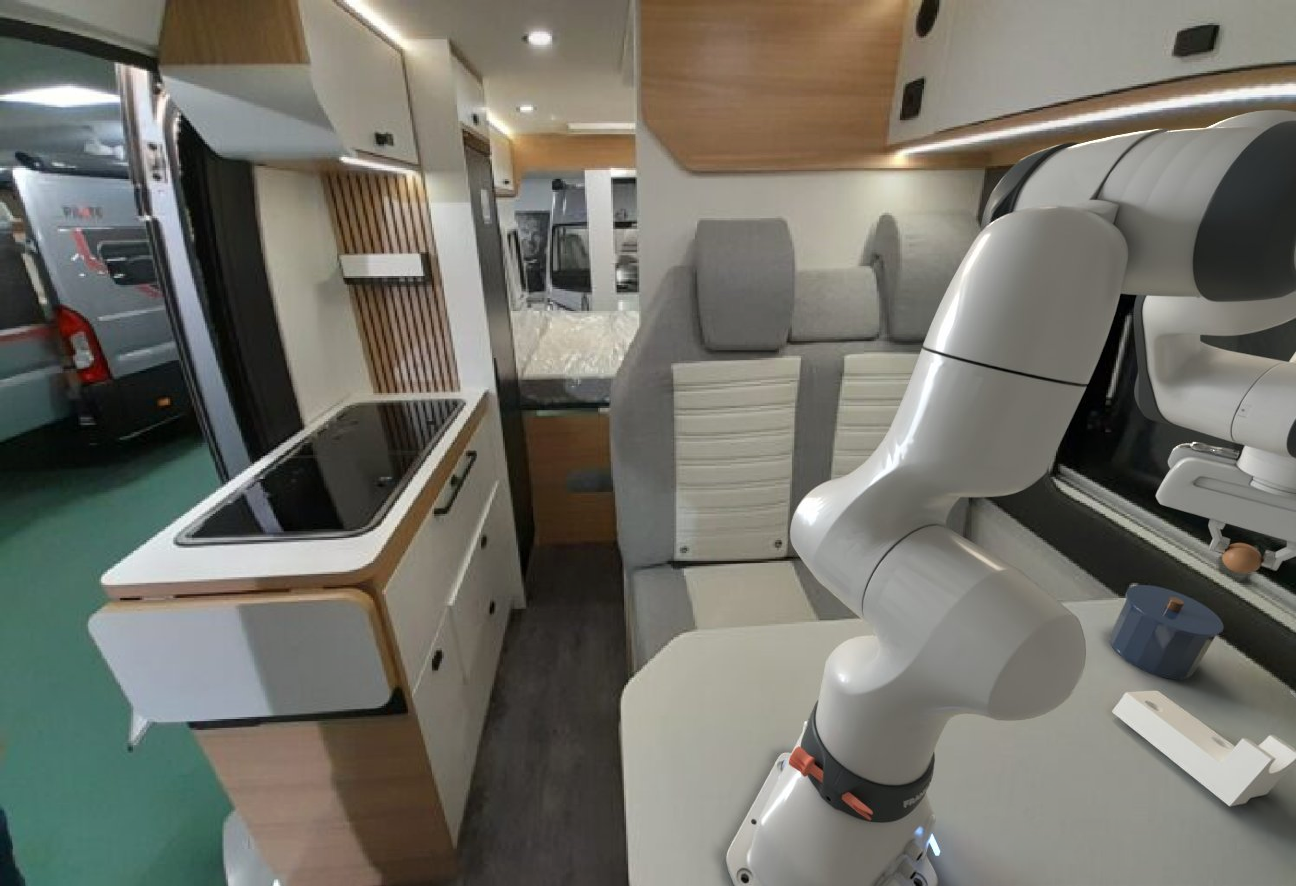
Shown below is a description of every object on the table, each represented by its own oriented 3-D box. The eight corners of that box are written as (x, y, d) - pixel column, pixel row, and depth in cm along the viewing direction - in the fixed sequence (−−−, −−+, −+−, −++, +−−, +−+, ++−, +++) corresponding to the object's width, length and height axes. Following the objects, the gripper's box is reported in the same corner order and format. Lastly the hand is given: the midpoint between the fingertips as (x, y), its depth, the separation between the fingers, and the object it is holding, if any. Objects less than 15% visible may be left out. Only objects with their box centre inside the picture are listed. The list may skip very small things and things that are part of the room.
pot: (1189, 691, 77) (1215, 646, 74) (1102, 651, 84) (1123, 609, 80) (1196, 655, 83) (1220, 612, 80) (1115, 621, 90) (1134, 580, 86)
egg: (1253, 582, 68) (1265, 560, 66) (1216, 570, 70) (1227, 548, 69) (1255, 567, 70) (1267, 545, 69) (1219, 555, 73) (1229, 534, 71)
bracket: (1261, 799, 64) (1303, 754, 61) (1229, 806, 61) (1271, 759, 59) (1142, 709, 75) (1173, 668, 73) (1111, 711, 73) (1142, 668, 70)
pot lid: (1217, 652, 73) (1225, 638, 72) (1117, 611, 81) (1124, 598, 79) (1222, 615, 80) (1230, 602, 79) (1130, 581, 87) (1136, 568, 86)
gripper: (1174, 444, 69) (1134, 534, 75) (1439, 504, 55) (1366, 609, 61) (1180, 431, 73) (1142, 517, 78) (1430, 484, 59) (1361, 584, 65)
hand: (1241, 558), depth 69 cm, fingers closed on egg, 3 cm apart
